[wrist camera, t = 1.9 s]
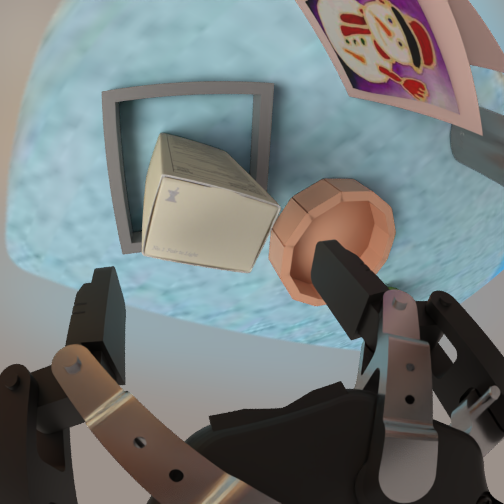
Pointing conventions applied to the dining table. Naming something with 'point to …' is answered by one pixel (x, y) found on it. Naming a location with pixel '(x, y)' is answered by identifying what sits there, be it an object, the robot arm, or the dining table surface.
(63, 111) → the dining table surface
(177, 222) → the skincare box
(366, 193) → the bowl
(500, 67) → the greeting card
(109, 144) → the open rectangular frame
